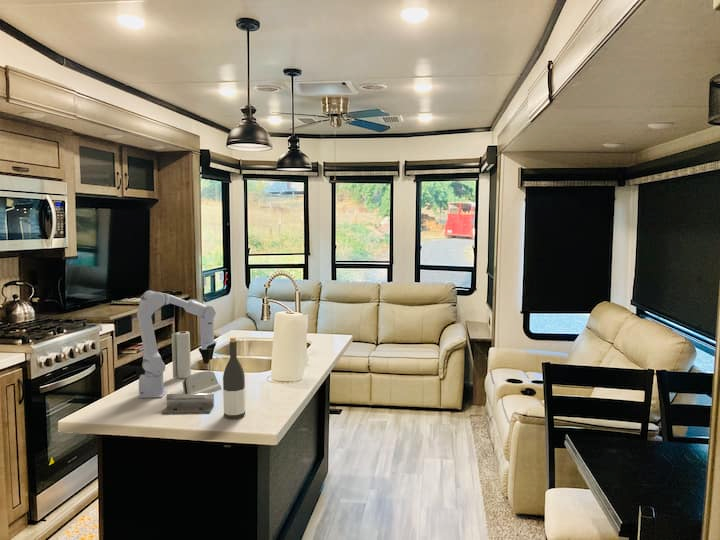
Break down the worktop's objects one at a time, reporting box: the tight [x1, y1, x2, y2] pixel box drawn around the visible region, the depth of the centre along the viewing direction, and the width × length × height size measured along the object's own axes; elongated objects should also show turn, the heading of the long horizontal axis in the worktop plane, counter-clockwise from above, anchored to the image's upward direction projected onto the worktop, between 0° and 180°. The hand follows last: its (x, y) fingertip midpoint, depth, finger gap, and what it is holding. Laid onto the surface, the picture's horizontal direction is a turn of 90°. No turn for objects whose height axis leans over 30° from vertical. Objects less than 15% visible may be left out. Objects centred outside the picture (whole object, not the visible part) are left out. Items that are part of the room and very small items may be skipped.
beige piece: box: [181, 370, 222, 394], centre depth 235 cm, size 17×5×10 cm, turn 148°
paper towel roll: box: [171, 330, 192, 379], centre depth 257 cm, size 7×6×21 cm
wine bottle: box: [222, 336, 246, 420], centre depth 207 cm, size 8×8×30 cm
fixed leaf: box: [161, 392, 215, 415], centre depth 214 cm, size 18×8×5 cm, turn 93°
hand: (208, 361), depth 248 cm, fingers open, 6 cm apart
